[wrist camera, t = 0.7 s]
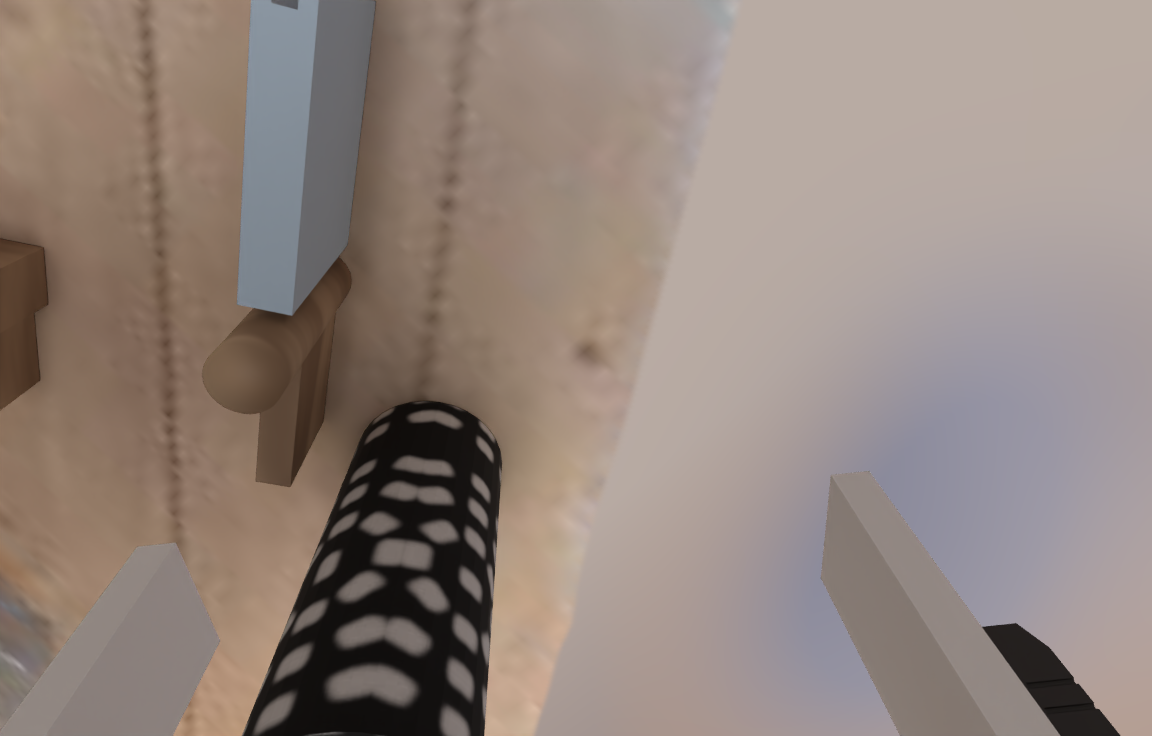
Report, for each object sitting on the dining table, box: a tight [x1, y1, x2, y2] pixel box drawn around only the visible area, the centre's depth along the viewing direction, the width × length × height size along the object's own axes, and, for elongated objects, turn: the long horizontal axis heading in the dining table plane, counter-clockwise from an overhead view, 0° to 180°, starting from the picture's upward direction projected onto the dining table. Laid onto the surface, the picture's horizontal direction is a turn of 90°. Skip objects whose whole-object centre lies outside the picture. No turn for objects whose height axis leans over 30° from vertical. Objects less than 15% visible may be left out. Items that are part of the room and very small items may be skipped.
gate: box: [237, 0, 376, 316], centre depth 28 cm, size 12×2×9 cm, turn 165°
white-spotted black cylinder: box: [242, 401, 502, 736], centre depth 32 cm, size 8×8×20 cm
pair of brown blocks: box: [0, 239, 351, 487], centre depth 31 cm, size 17×10×11 cm, turn 75°
